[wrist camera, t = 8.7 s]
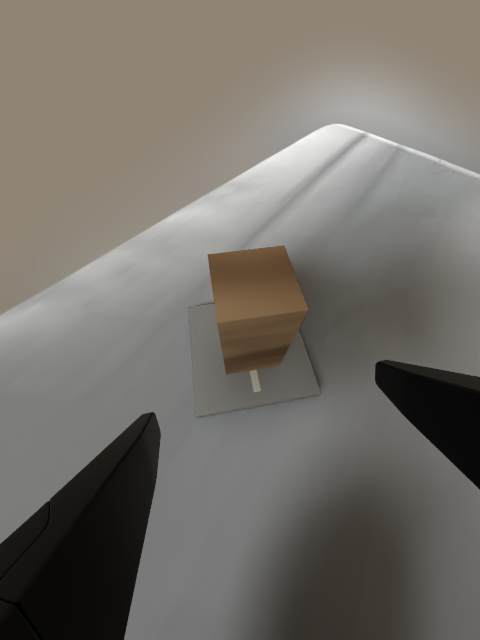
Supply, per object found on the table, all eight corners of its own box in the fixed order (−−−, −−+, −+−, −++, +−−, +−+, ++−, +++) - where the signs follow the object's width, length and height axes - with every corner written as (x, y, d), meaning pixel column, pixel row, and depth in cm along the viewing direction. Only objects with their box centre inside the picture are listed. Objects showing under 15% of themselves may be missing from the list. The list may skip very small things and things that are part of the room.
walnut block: (278, 366, 19) (308, 309, 11) (226, 375, 18) (217, 323, 10) (266, 320, 21) (284, 245, 13) (219, 327, 20) (207, 254, 13)
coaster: (317, 395, 18) (321, 393, 18) (198, 418, 18) (195, 416, 17) (284, 298, 23) (286, 292, 22) (189, 312, 22) (187, 306, 21)
